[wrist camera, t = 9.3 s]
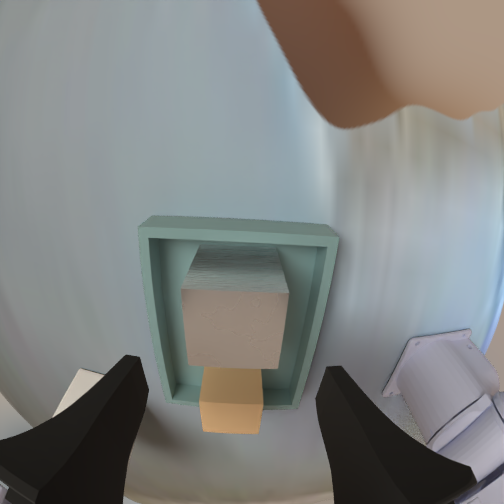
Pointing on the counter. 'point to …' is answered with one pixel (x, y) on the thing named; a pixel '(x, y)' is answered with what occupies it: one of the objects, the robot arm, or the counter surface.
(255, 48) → the counter surface
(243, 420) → the tan box
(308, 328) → the tote
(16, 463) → the robot arm
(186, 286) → the concrete cube
